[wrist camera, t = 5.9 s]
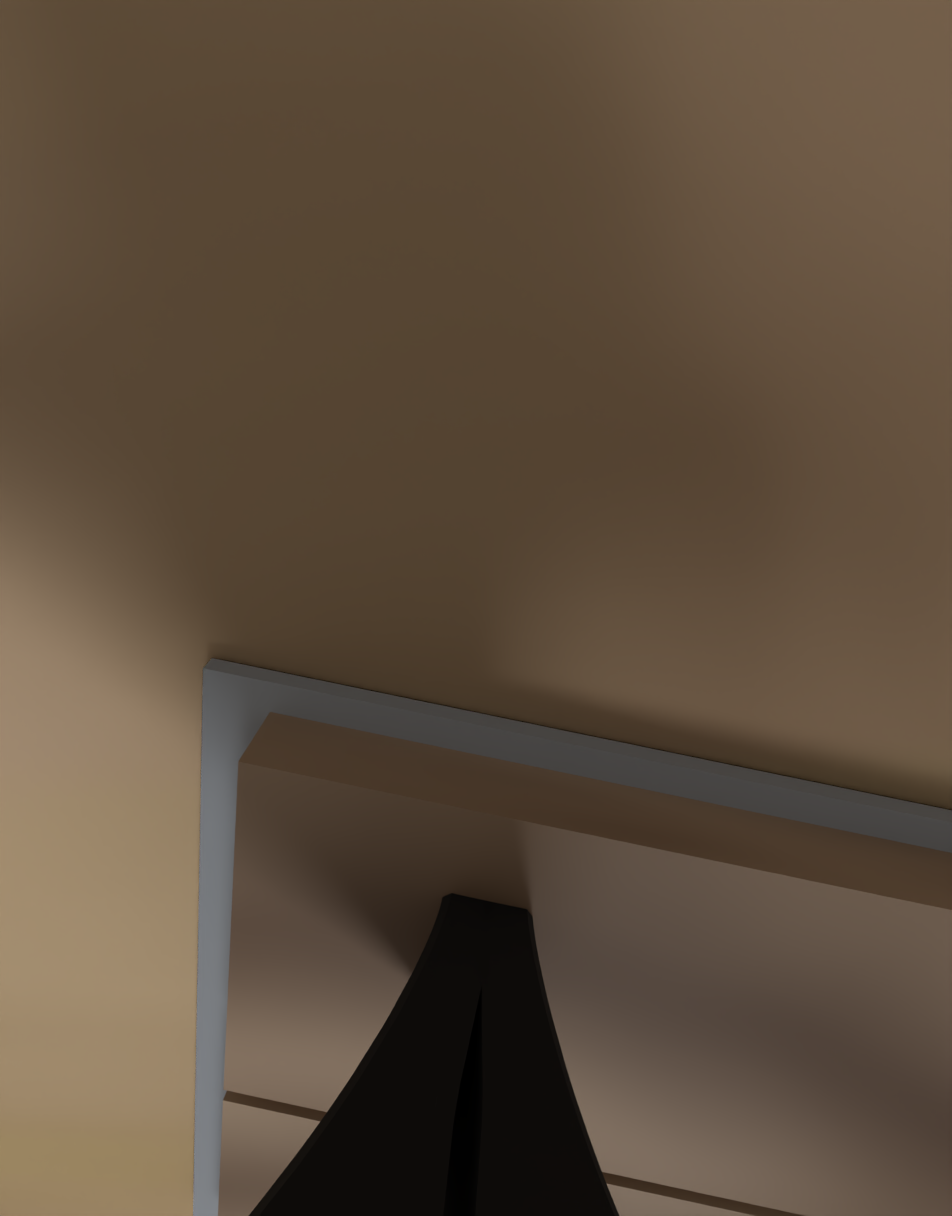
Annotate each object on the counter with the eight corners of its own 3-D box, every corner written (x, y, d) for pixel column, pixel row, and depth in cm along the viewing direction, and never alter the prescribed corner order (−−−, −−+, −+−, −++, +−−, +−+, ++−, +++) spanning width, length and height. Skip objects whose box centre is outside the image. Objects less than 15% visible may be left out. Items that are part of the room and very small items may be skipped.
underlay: (893, 1354, 17) (898, 1371, 17) (199, 1201, 17) (193, 1216, 17) (1315, 884, 11) (1333, 901, 10) (212, 658, 11) (203, 668, 11)
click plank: (1003, 1186, 14) (1041, 1266, 13) (249, 1024, 14) (223, 1089, 13) (1238, 912, 11) (1314, 985, 10) (270, 711, 11) (238, 760, 10)
